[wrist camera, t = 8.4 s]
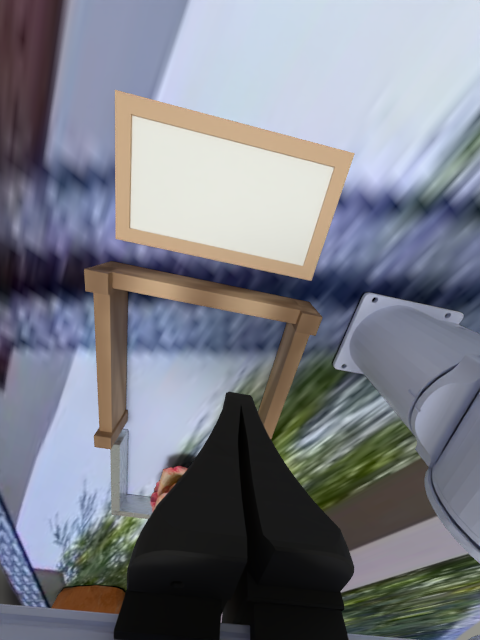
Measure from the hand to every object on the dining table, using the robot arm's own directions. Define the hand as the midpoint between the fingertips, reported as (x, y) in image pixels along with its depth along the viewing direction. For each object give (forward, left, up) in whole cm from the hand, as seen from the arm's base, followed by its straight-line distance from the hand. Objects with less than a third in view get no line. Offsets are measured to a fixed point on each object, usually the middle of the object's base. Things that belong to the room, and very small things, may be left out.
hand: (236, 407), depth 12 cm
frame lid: (+3, -11, -10) cm, 15 cm away
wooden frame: (+3, +5, -10) cm, 11 cm away
